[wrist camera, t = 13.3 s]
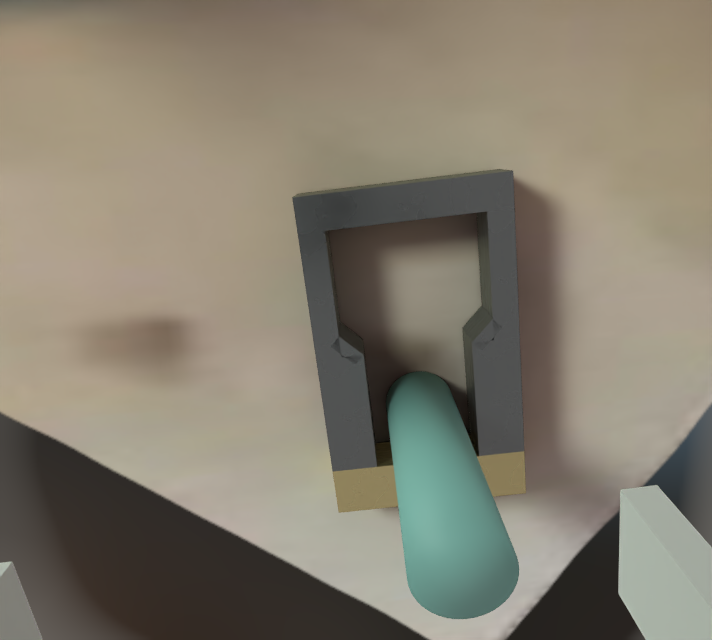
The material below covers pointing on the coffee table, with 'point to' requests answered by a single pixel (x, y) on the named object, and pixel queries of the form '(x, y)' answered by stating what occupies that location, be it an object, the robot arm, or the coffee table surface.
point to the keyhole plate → (480, 334)
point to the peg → (445, 505)
